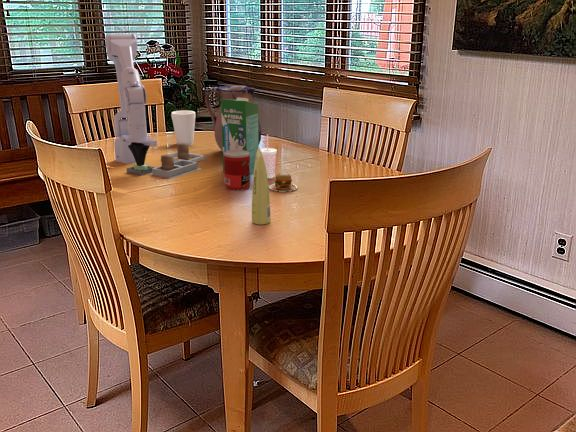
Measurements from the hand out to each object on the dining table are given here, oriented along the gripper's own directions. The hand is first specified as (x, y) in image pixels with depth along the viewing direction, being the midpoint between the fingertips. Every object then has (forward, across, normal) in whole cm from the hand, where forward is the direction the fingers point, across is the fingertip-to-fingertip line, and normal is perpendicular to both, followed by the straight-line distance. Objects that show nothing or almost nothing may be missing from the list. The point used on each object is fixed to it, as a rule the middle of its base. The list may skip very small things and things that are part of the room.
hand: (140, 165), depth 191 cm
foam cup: (+3, -19, +42) cm, 46 cm away
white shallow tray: (+3, 0, +20) cm, 21 cm away
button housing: (+3, 0, 0) cm, 3 cm away
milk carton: (+3, +25, +22) cm, 33 cm away
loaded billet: (+2, +9, +4) cm, 10 cm away
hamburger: (+4, +47, +14) cm, 50 cm away
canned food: (+3, +35, +7) cm, 36 cm away
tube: (+3, +59, -14) cm, 61 cm away
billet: (+3, 0, +20) cm, 21 cm away
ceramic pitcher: (+3, +7, +41) cm, 42 cm away
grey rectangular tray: (+3, +9, +7) cm, 12 cm away
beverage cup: (+3, +36, +22) cm, 42 cm away
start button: (+3, 0, 0) cm, 3 cm away
